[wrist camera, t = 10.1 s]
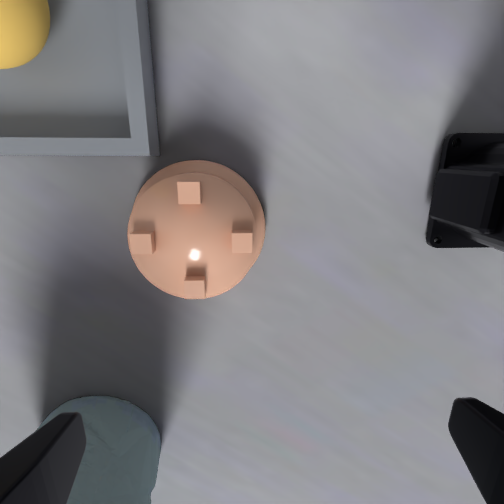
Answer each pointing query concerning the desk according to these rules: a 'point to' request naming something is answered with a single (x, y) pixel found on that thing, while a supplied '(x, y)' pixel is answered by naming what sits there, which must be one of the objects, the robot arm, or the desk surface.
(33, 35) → the ball
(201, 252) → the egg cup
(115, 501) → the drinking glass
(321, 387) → the desk surface
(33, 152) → the tray
